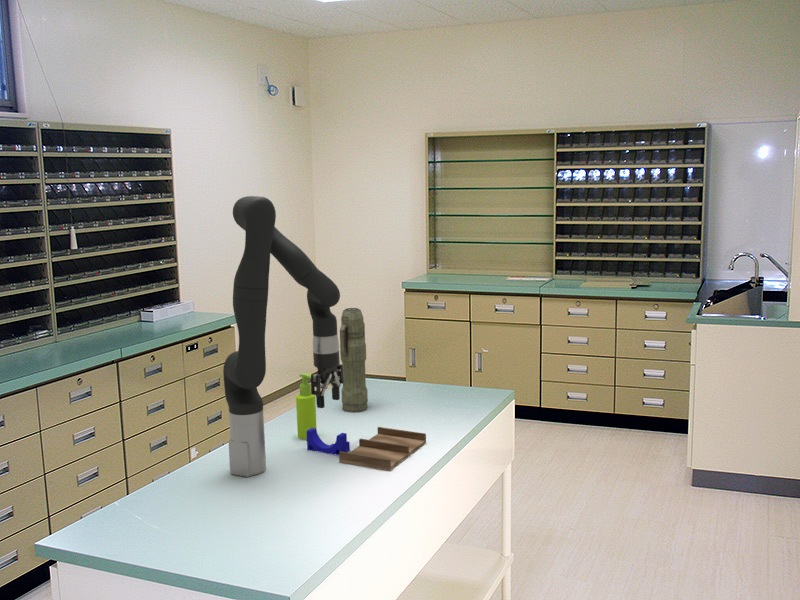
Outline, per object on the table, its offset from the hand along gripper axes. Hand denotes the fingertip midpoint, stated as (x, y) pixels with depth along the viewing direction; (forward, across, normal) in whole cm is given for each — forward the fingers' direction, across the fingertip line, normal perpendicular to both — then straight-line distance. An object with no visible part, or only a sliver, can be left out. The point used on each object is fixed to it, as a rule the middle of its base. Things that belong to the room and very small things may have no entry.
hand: (328, 403), depth 229 cm
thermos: (+14, +38, +13) cm, 42 cm away
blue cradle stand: (+14, -1, 0) cm, 14 cm away
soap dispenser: (+14, +7, +12) cm, 20 cm away
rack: (+14, +4, -16) cm, 22 cm away
